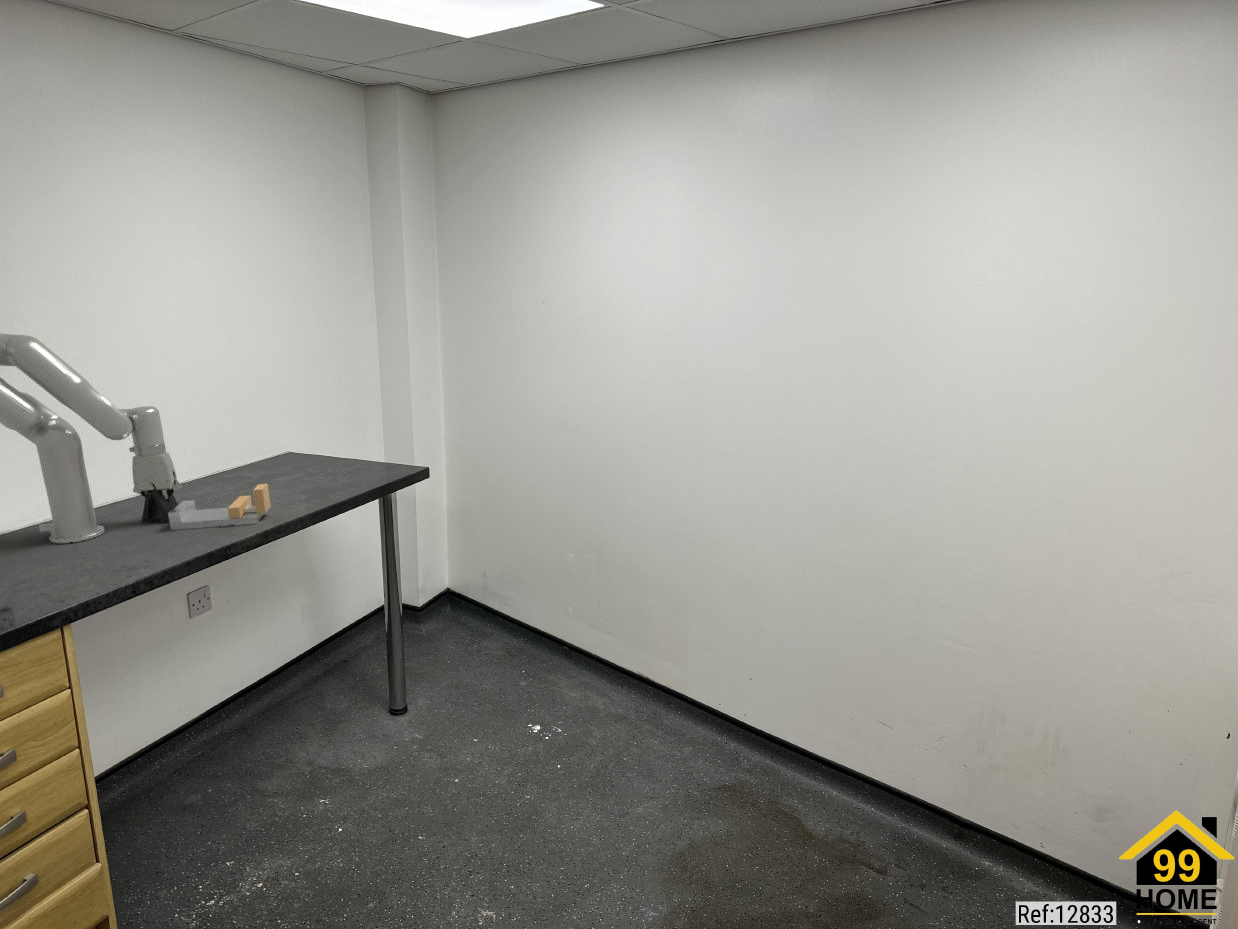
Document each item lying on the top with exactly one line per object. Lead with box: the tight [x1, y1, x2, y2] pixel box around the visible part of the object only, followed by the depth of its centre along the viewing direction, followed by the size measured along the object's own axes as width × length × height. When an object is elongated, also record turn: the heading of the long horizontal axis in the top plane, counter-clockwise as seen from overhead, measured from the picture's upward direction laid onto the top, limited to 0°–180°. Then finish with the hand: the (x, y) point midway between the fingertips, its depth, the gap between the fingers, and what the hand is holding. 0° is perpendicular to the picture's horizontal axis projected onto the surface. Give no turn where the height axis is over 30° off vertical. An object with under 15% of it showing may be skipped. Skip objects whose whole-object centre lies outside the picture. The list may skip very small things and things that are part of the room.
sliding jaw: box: [227, 483, 272, 518], centre depth 223 cm, size 9×12×7 cm
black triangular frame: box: [141, 483, 179, 524], centre depth 223 cm, size 9×6×12 cm, turn 83°
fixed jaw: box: [168, 499, 197, 524], centre depth 220 cm, size 3×12×3 cm, turn 11°
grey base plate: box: [169, 507, 266, 531], centre depth 223 cm, size 22×12×2 cm, turn 101°
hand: (161, 511), depth 224 cm, fingers closed on black triangular frame, 2 cm apart
